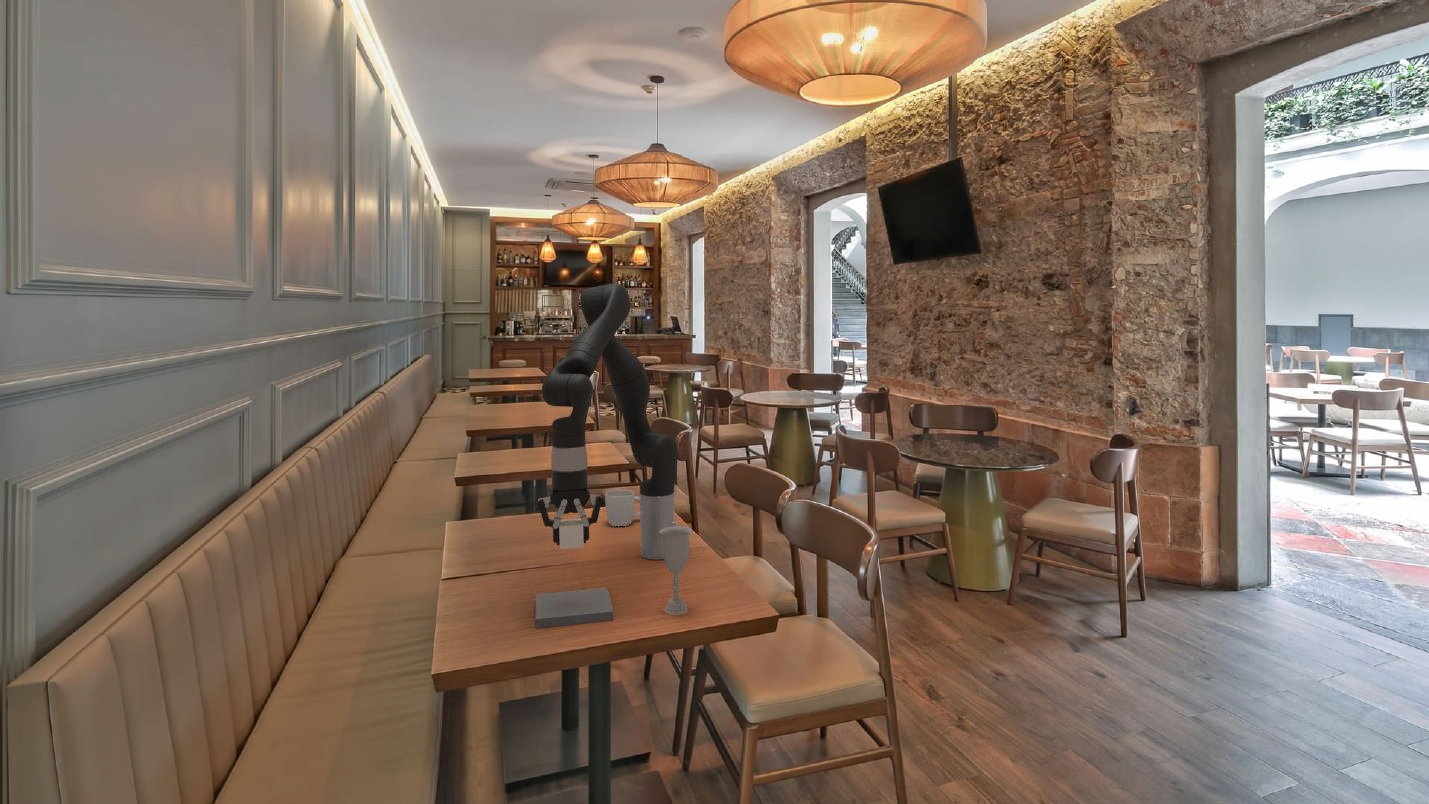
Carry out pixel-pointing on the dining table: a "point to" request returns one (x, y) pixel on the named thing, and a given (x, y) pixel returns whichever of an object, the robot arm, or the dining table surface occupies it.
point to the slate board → (573, 607)
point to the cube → (571, 534)
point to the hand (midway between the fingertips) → (571, 542)
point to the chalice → (675, 561)
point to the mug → (620, 507)
